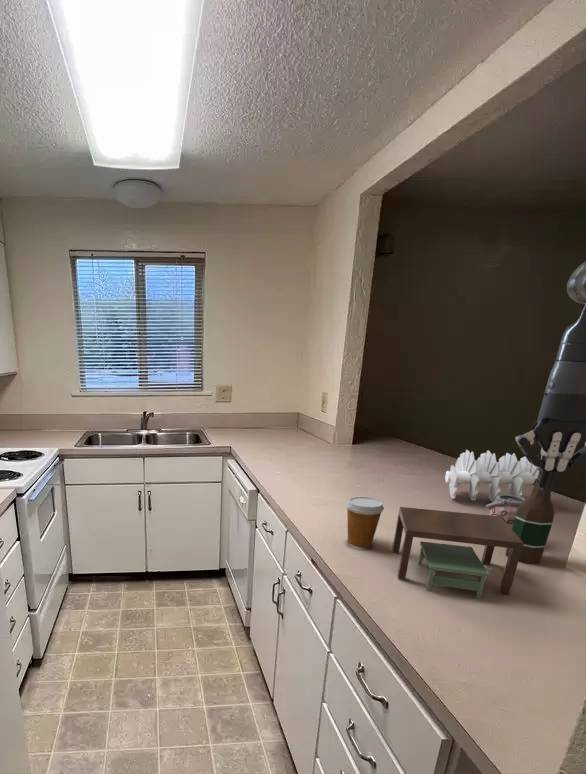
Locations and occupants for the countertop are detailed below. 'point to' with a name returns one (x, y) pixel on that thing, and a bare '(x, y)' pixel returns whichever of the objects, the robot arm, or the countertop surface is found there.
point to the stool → (453, 566)
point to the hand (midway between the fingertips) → (545, 489)
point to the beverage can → (505, 507)
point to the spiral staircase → (491, 474)
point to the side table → (458, 536)
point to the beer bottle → (533, 524)
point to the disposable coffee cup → (363, 519)
